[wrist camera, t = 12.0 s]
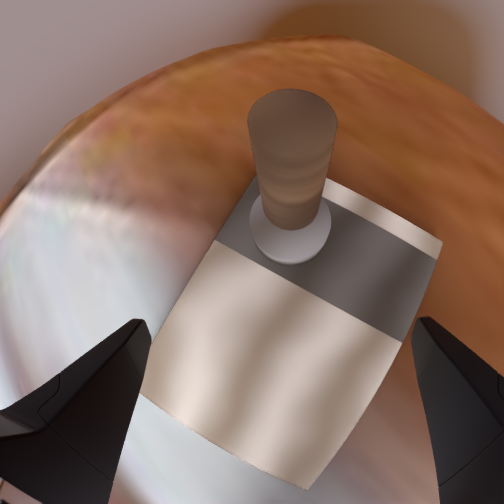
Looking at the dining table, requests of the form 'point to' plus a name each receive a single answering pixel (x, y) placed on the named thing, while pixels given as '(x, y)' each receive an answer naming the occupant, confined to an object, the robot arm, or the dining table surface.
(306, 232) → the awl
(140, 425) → the dining table surface
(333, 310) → the cream and grey cloth
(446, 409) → the robot arm
